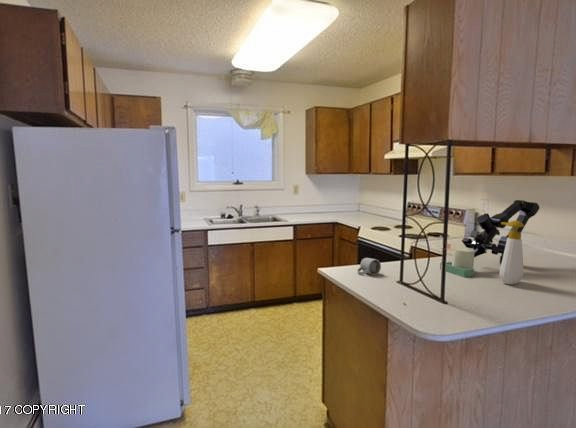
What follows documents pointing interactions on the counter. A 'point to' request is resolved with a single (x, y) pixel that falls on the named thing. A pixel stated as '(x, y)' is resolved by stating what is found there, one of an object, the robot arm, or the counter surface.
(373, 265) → the ceramic mug
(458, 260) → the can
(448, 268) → the green piece
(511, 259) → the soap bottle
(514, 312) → the counter surface
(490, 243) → the robot arm
